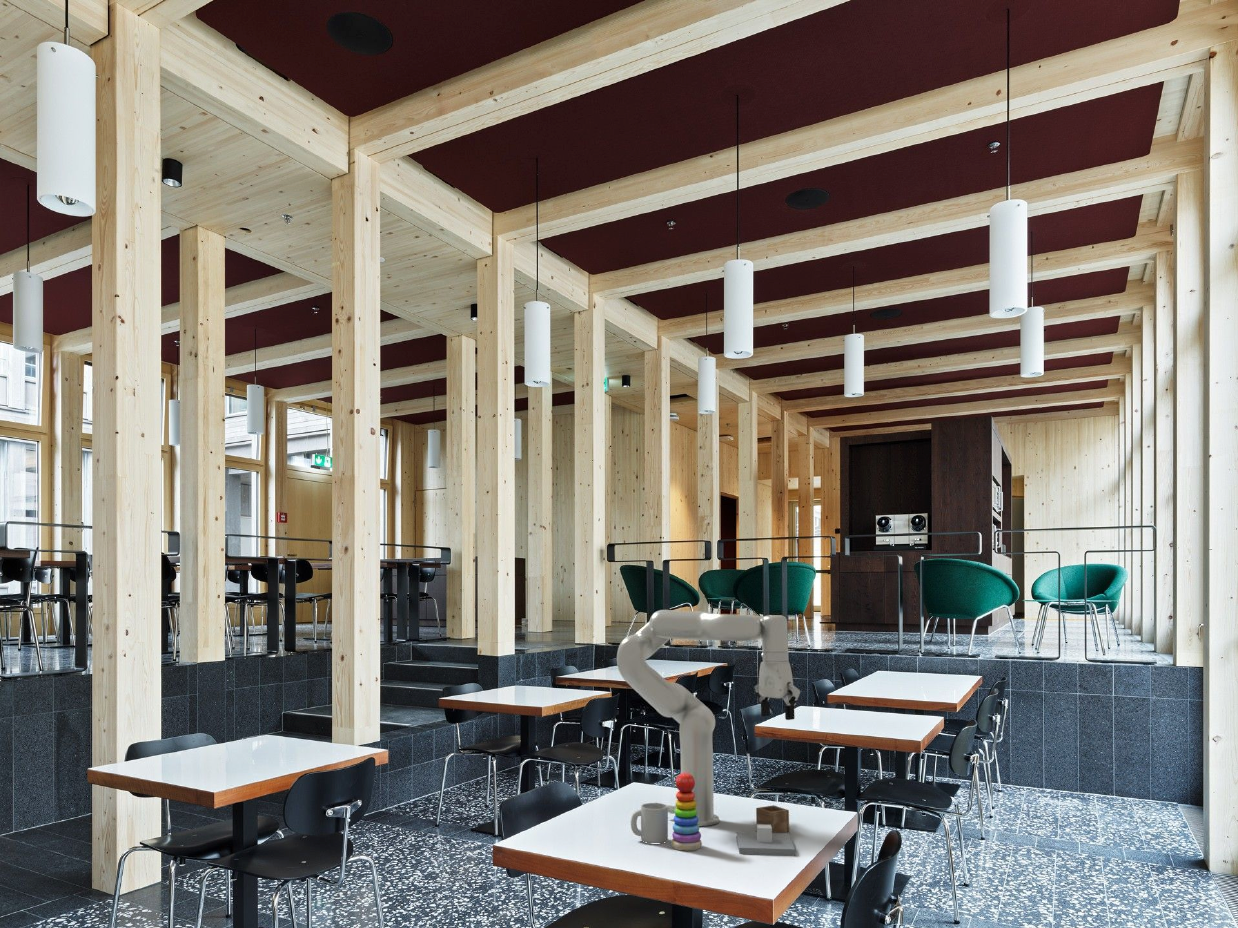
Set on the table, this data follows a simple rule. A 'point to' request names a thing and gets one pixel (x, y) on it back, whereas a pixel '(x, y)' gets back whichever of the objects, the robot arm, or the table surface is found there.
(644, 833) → the cup
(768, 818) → the wooden cube shelf
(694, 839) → the stacking toy
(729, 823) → the table surface
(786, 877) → the table surface
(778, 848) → the board
